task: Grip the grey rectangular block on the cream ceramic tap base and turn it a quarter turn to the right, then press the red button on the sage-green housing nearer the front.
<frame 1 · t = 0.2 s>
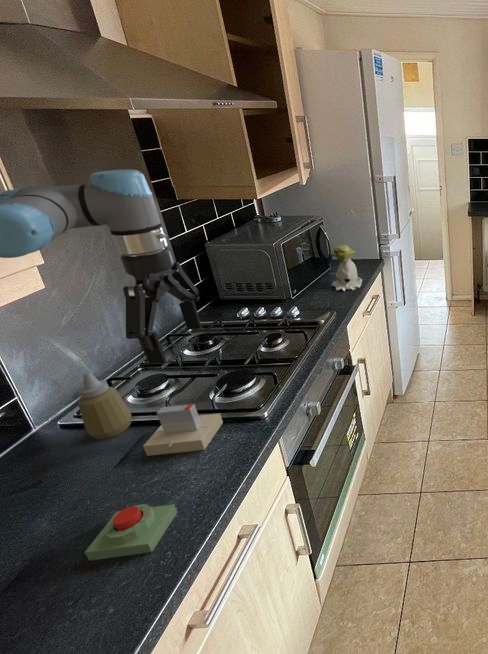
hand: (177, 344, 89), 27 cm above the worktop, tool pointing down, fingers open, 13 cm apart
squeeze bottle: (115, 435, 101), on the worktop
tap base: (187, 438, 100), on the worktop
white green figurine: (347, 285, 184), on the worktop
button: (127, 518, 76), point 4 cm above the worktop, slide at 0.1 cm
grey rectangular block: (179, 418, 97), point 6 cm above the worktop, hinge at 0.0°
button box: (135, 535, 77), on the worktop
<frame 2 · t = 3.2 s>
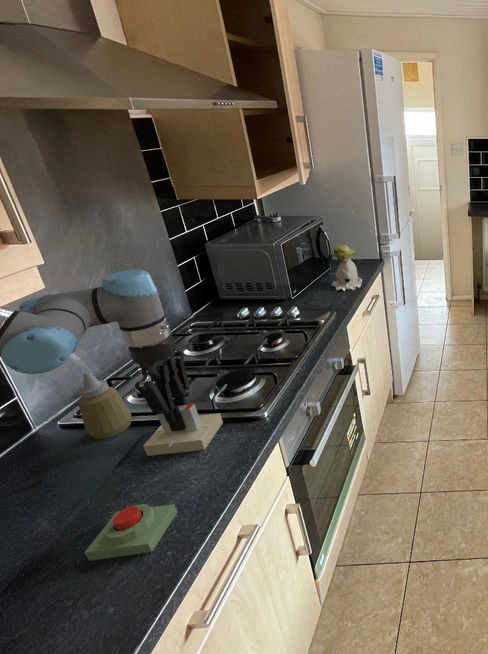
hand: (182, 425, 98), 4 cm above the worktop, tool pointing down, fingers closed on grey rectangular block, 2 cm apart
grey rectangular block: (179, 418, 97), point 6 cm above the worktop, hinge at 0.0°, touching gripper
everything else where it was.
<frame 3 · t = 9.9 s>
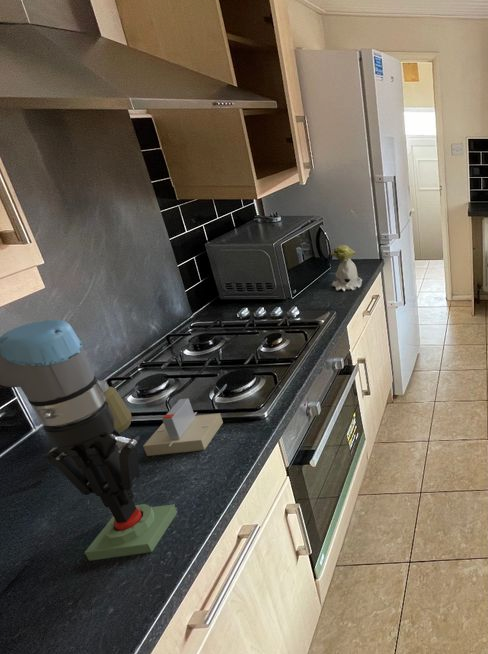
hand: (126, 515, 76), 5 cm above the worktop, tool pointing down, fingers closed
button: (128, 519, 76), point 4 cm above the worktop, slide at -0.3 cm, touching gripper
grey rectangular block: (179, 418, 97), point 6 cm above the worktop, hinge at -89.2°
everything else where it was.
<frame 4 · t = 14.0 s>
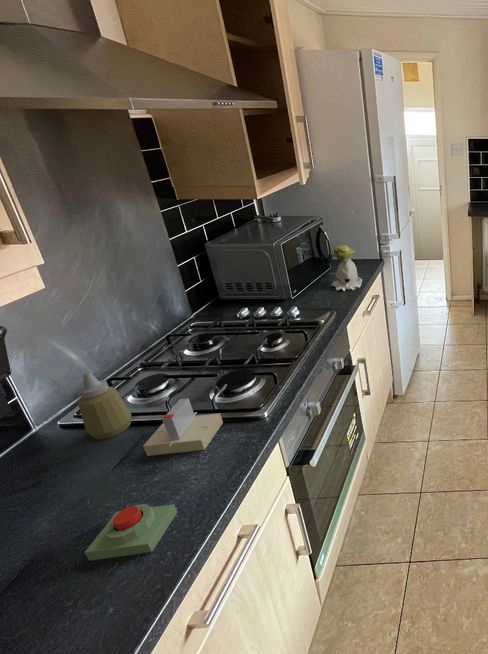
button: (127, 518, 76), point 4 cm above the worktop, slide at 0.1 cm
everything else where it was.
at the end: grey rectangular block at -89° (first picture: +0°); button pushed in 1.0 cm at the most during the clip, back to where it started at the end; button slide at 0.1 cm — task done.
